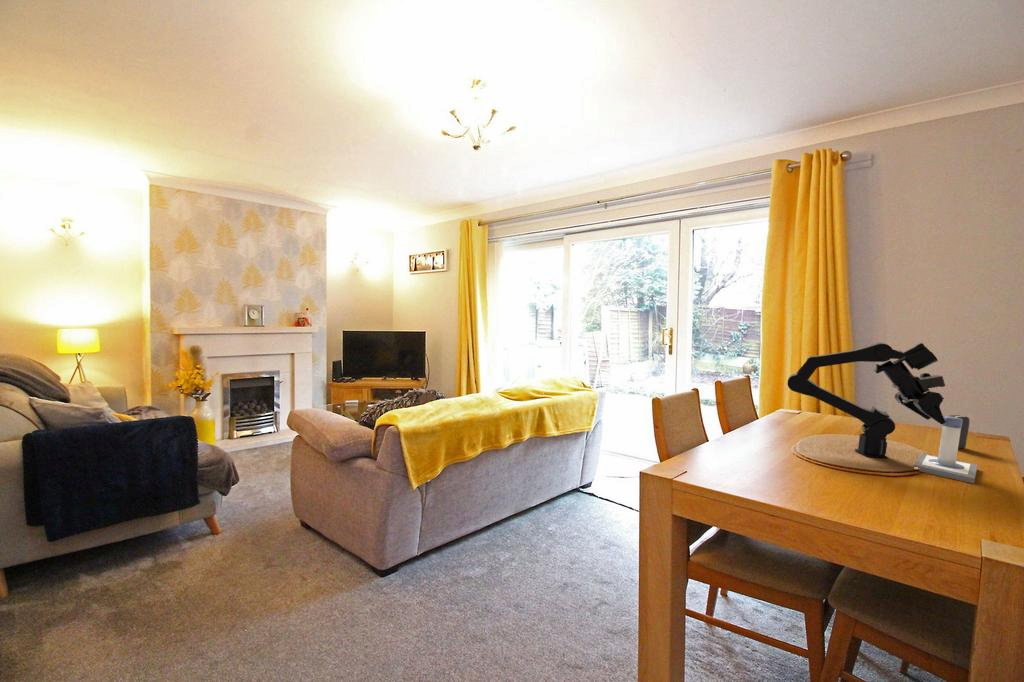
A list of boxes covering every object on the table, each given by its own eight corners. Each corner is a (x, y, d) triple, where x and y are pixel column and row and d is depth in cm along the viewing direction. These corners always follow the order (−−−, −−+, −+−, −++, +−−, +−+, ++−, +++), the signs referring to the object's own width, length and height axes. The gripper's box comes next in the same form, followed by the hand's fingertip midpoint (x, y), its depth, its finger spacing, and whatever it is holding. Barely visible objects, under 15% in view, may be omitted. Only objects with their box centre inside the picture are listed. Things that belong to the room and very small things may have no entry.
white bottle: (935, 462, 143) (942, 416, 142) (938, 460, 146) (945, 415, 145) (954, 467, 140) (961, 420, 139) (957, 464, 143) (964, 418, 141)
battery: (953, 445, 171) (958, 413, 170) (966, 448, 168) (971, 416, 167) (939, 445, 170) (944, 414, 168) (952, 449, 166) (956, 417, 165)
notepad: (974, 483, 132) (974, 477, 132) (913, 469, 142) (914, 463, 141) (976, 469, 145) (977, 463, 145) (920, 457, 154) (921, 452, 154)
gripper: (943, 365, 138) (981, 412, 135) (915, 362, 156) (948, 404, 153) (903, 385, 142) (940, 431, 139) (880, 380, 159) (912, 421, 156)
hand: (936, 421), depth 146 cm, fingers open, 9 cm apart
